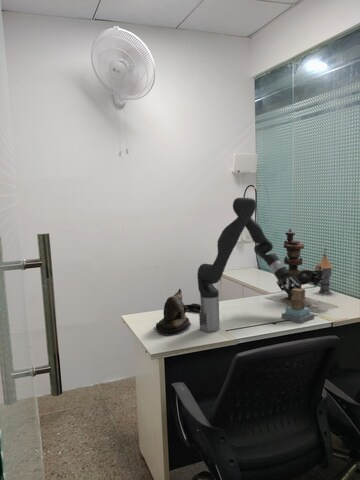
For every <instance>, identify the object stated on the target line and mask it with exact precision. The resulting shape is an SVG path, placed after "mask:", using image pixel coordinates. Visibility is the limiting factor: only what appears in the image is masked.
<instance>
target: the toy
mask: <svg viewBox="0 0 360 480" xmlns="http://www.w3.org/2000/svg"><path fill="white" fill-rule="evenodd" d="M184 305H185V306H186V307H187V311H198V312H199V311H201V303H200V304H199V303H191V304H184Z"/></svg>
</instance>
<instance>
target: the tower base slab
mask: <svg viewBox="0 0 360 480" xmlns="http://www.w3.org/2000/svg"><path fill="white" fill-rule="evenodd" d="M281 319H284V320H287V321H291V322H295V323H298V324H302V323H305V322H308V321H310V320H314V319H315V313H312V312H310V314H307V315H305V316H303V317H296V316H292V315H288V314H286V311H285V312H282V313H281Z"/></svg>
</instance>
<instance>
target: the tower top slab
mask: <svg viewBox="0 0 360 480" xmlns="http://www.w3.org/2000/svg"><path fill="white" fill-rule="evenodd" d="M284 310H285V312H286V314H288V315H292V316H296V317H303V316H305V315H307V314H310V313H311V311H310V308H307V307H306V306H305V308H303V309H300V310H299V309H295V308H291V306H289V307H286V308H285V309H284Z"/></svg>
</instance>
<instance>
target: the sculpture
mask: <svg viewBox="0 0 360 480" xmlns="http://www.w3.org/2000/svg"><path fill="white" fill-rule="evenodd" d="M185 305H186V304H185V303H184V301H183V292H182V289H181V288H179V289H178V291H177V292H175V294H173V295H172V296H169V297H168V298H167V299H166V300H165V302H164V306H163V317H162V319H161V320H159V321H158V322H156V323H155V329H156V331H158V333H160V334H163V335H165V336H166V337H170V336H174V335H179V334H183V333H185V332H187V330H188V329H190V327H191V326H192V323H191V322H190V319H189V318H188V317H187V315H186V312H187V311H188V310H187V307H186V306H185Z"/></svg>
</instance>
